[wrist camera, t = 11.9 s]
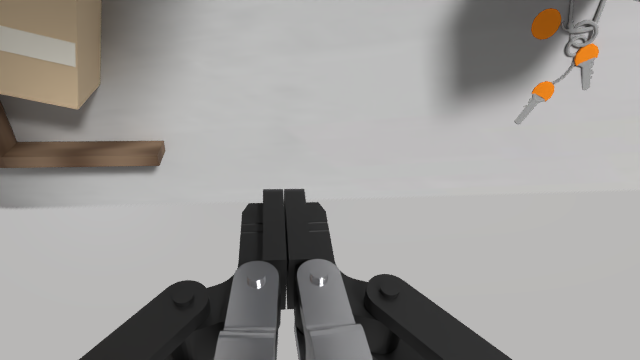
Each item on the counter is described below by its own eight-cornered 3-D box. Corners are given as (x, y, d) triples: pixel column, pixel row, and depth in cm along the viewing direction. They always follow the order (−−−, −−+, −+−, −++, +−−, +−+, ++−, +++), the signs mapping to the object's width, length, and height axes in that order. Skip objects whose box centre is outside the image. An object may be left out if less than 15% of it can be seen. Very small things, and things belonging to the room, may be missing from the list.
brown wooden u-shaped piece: (124, -70, 28) (113, -67, 26) (165, 150, 37) (159, 165, 35) (-92, -81, 26) (-122, -79, 24) (8, 152, 36) (-7, 168, 34)
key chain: (533, -21, 33) (539, -19, 32) (623, -32, 33) (631, -31, 32) (507, 124, 40) (511, 128, 39) (580, 114, 40) (586, 117, 39)
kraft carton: (102, -22, 29) (75, -8, 25) (101, 83, 33) (77, 110, 29) (-29, -58, 27) (-82, -50, 23) (-13, 58, 31) (-56, 83, 27)
